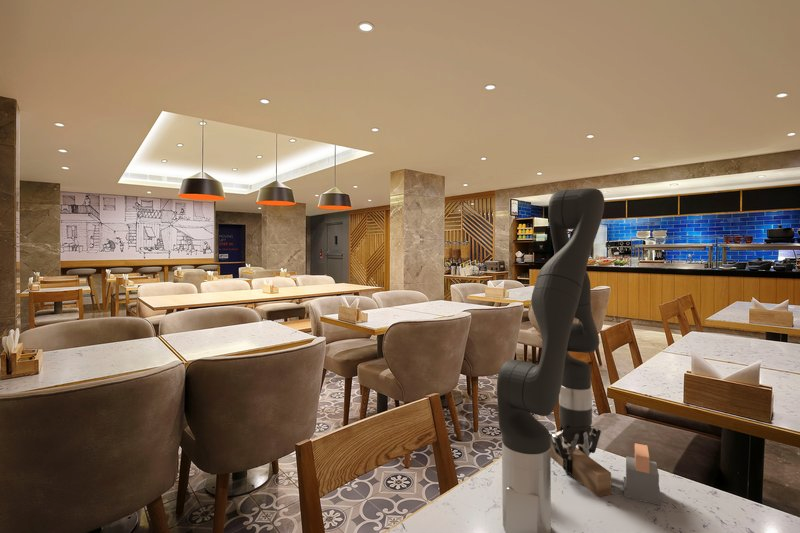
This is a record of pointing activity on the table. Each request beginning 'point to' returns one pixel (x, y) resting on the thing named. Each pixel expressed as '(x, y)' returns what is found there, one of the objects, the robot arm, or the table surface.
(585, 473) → the brown wooden beam
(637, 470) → the balance stand
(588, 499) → the table surface
